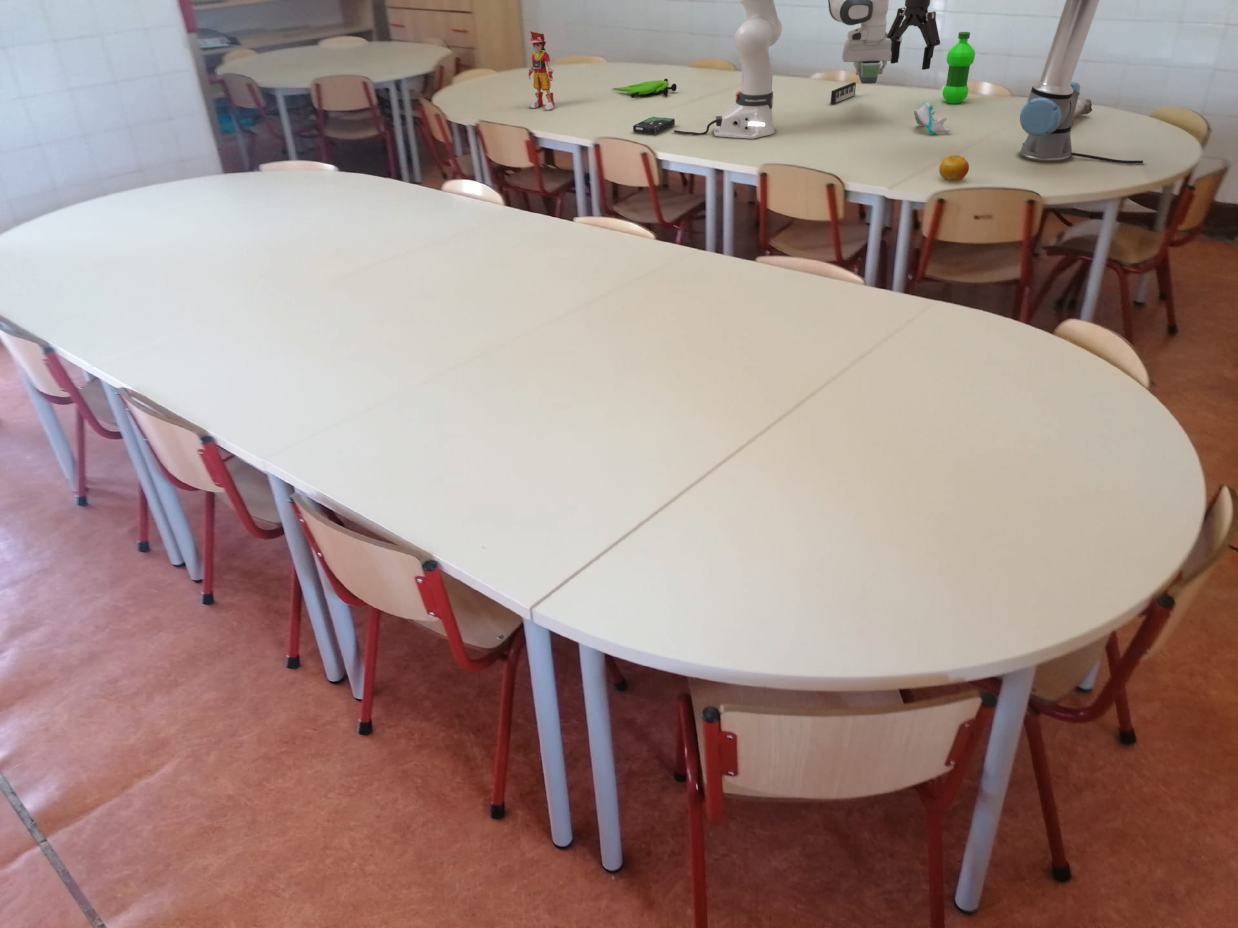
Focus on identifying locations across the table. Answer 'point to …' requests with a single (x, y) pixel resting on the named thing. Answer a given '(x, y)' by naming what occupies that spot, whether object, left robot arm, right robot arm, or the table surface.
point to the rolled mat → (1082, 107)
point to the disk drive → (653, 125)
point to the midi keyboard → (843, 93)
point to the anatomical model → (929, 119)
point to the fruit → (954, 168)
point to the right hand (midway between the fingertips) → (909, 66)
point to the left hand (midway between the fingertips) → (868, 74)
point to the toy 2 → (648, 88)
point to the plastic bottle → (958, 69)
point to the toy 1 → (541, 71)
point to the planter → (869, 71)
